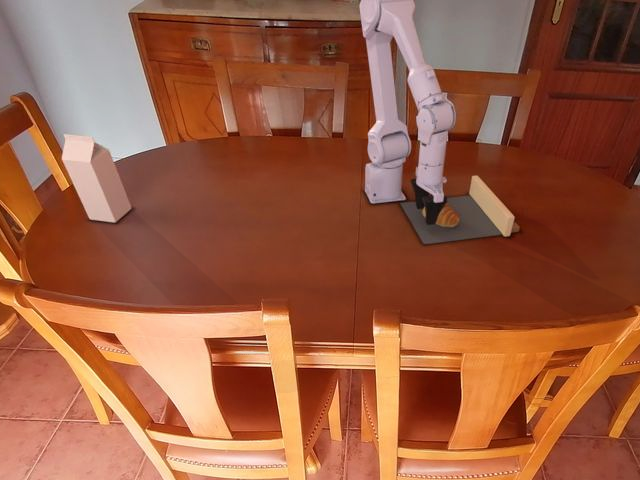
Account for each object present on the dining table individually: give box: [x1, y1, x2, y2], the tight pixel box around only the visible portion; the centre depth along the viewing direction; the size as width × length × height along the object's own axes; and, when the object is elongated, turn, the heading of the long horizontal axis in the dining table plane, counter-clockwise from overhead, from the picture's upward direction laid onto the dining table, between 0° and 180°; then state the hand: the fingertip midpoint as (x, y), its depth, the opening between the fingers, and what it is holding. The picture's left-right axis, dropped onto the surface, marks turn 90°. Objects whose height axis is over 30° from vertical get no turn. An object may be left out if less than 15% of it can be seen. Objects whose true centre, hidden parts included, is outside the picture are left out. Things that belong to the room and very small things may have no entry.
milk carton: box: [61, 133, 132, 223], centre depth 109 cm, size 7×7×19 cm
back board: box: [468, 175, 521, 238], centre depth 116 cm, size 4×22×5 cm, turn 14°
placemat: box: [399, 194, 503, 245], centre depth 116 cm, size 20×20×1 cm
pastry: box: [422, 204, 460, 227], centre depth 114 cm, size 9×7×4 cm
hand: (425, 215), depth 114 cm, fingers open, 7 cm apart
